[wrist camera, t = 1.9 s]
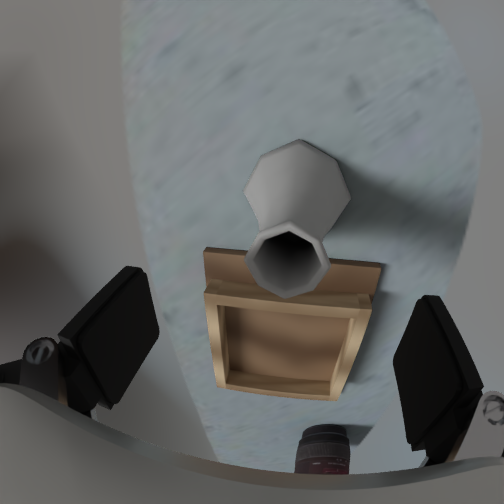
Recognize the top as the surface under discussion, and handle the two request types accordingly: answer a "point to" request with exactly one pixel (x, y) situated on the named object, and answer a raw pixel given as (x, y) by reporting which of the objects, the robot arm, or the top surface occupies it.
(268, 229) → the flask
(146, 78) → the top surface
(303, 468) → the camera lens
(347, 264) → the shaker holder
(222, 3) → the top surface
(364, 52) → the top surface
